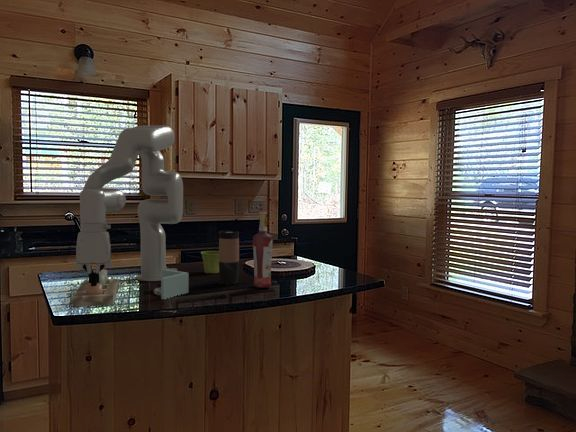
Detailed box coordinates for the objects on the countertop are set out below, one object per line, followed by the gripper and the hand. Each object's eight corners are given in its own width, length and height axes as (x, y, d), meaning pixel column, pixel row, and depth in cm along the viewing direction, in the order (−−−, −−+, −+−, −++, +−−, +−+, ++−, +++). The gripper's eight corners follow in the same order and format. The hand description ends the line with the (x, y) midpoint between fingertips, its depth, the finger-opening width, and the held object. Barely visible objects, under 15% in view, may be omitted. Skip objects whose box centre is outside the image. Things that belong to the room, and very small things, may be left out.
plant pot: (213, 269, 215) (213, 250, 215) (227, 272, 209) (227, 252, 208) (196, 272, 208) (196, 252, 208) (209, 275, 202) (209, 254, 201)
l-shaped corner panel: (163, 289, 178) (163, 269, 177) (188, 293, 172) (188, 272, 171) (138, 296, 167) (137, 274, 167) (163, 300, 161) (163, 278, 161)
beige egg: (108, 282, 175) (107, 269, 175) (106, 285, 171) (106, 271, 170) (93, 283, 174) (93, 269, 174) (92, 286, 170) (91, 272, 169)
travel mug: (242, 282, 189) (242, 231, 188) (232, 286, 182) (232, 232, 181) (225, 280, 192) (225, 229, 191) (214, 284, 186) (214, 231, 184)
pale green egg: (105, 287, 168) (105, 273, 167) (104, 290, 163) (104, 276, 163) (90, 288, 166) (90, 273, 166) (89, 291, 162) (88, 276, 161)
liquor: (268, 290, 176) (269, 212, 174) (249, 288, 178) (249, 212, 176) (274, 286, 183) (275, 211, 181) (256, 284, 185) (257, 211, 183)
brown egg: (103, 298, 160) (103, 283, 160) (101, 301, 156) (101, 286, 155) (87, 299, 159) (87, 283, 158) (85, 302, 154) (85, 287, 154)
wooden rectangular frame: (119, 286, 179) (119, 278, 179) (113, 304, 154) (113, 295, 154) (84, 288, 176) (83, 280, 176) (72, 306, 151) (71, 297, 151)
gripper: (118, 226, 161) (119, 281, 162) (69, 227, 157) (70, 283, 158) (117, 229, 154) (117, 286, 155) (65, 229, 150) (66, 288, 151)
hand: (94, 285), depth 157 cm, fingers closed
